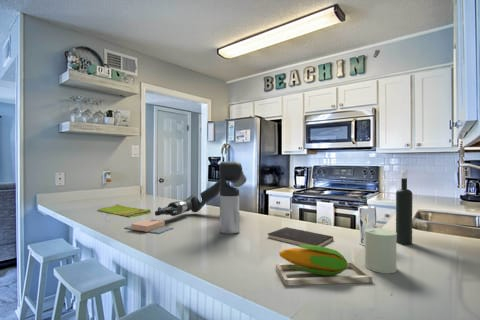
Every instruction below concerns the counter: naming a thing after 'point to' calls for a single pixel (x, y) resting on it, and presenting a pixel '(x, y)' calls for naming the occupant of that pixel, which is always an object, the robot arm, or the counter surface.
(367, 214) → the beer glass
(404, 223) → the wine bottle
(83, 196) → the counter surface
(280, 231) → the hardcover book
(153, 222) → the tile
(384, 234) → the can
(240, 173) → the robot arm
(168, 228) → the mat
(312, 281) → the corn rest
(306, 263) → the corn
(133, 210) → the dish towel
